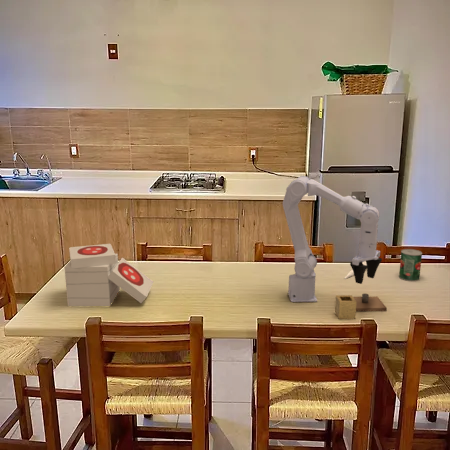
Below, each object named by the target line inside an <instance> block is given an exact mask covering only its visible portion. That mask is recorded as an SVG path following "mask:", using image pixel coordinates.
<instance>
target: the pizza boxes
mask: <svg viewBox="0 0 450 450" xmlns="http://www.w3.org/2000/svg"><path fill="white" fill-rule="evenodd" d="M113 248H114V247H113V246H112V244H111V243H102V244H94V245H93V244H92V245H83V246H82V245H81V246H71V247H69V248H68V250H69V251H68V252H69V261H68V262H67V264H65V265H64V278H65V289H66V299H67V307H68V306H110V305H111V306H112V304H113V303H114V301H115V300H114V298H115V297H116V298H117V296H118V295H117V293H118V292H119V290H122V291H124V292H125V293H127V294H128V295H129V296H131V297H132V298H134V299H135V300H136V301H137V302H139V303H140V304H143V303H144V301H145V299H147V297H148V295H149V293H150V291H151V288H152V287H153V284H154V280H152V279H151V278H150V277H148V276H147V275H146V274H145V273H143V272H142V271H141V270H139V268H137V267H135V266H134V265H133V264H131V262H129V261H127V260H126V259H125V258H124V257H121V259H120V260H119V255H118V253H115V251H114V249H113ZM119 293H120V292H119ZM119 293H118V294H119ZM116 295H117V296H116ZM116 298H115V299H116ZM113 300H114V301H113ZM112 302H113V303H112ZM111 303H112V304H111ZM111 306H110V307H111Z"/></svg>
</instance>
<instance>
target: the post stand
mask: <svg viewBox="0 0 450 450" xmlns="http://www.w3.org/2000/svg"><path fill="white" fill-rule="evenodd" d="M353 298H354V299H355V300H356V312H387V309H388V308H387V306H386V304H384V302H383V301H382V300H381V299H380V297H378V296H370V295H369V294H368V293H362V294H361V296H353Z"/></svg>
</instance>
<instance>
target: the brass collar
mask: <svg viewBox="0 0 450 450" xmlns="http://www.w3.org/2000/svg"><path fill="white" fill-rule="evenodd" d="M353 297H354V296H353V294H351V295H350V294H349V295H343V294H342V295H339V294H337V295H335V301H334V302H335V303H334V313H335V314H336V317H337V319H338V320H351V319H352V320H356V314H357V311H356V300H355V299H354V298H353Z"/></svg>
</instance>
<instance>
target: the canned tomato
mask: <svg viewBox="0 0 450 450" xmlns="http://www.w3.org/2000/svg"><path fill="white" fill-rule="evenodd" d="M422 258H423V252H422V251H421V250H417V249H413V248H404V249H401V250H400V262H399V263H400V264H399V272H398V274H399V275H398V277H399V279H400V280H403V281H407V282H417V281H420V279H421V278H420V277H421V266H422Z"/></svg>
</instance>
